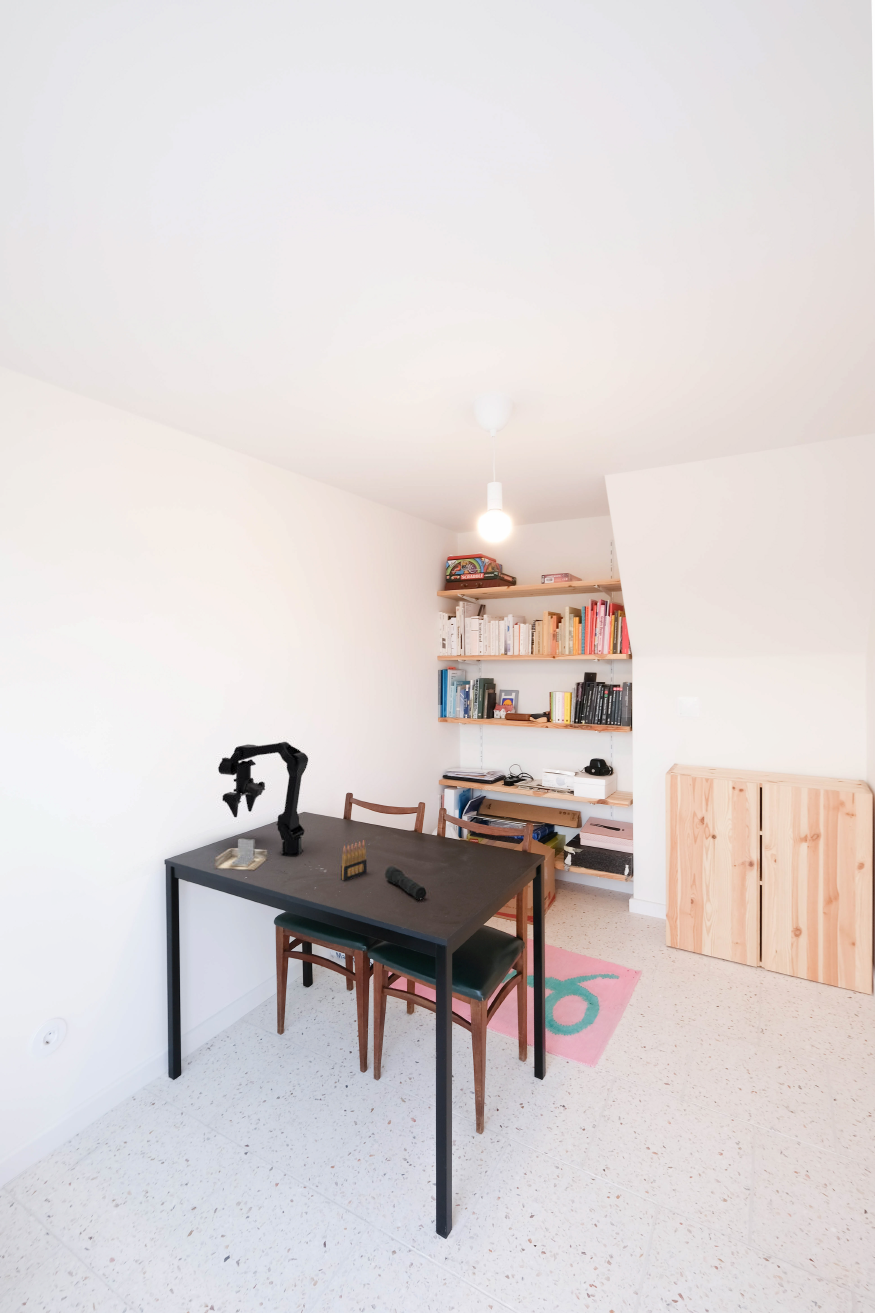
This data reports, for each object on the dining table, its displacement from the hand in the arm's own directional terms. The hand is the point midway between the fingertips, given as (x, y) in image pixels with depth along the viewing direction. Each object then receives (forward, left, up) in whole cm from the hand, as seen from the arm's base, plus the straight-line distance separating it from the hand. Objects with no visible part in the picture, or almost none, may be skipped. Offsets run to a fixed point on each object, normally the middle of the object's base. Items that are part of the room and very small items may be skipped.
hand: (242, 814), depth 239 cm
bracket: (-10, +20, -12) cm, 25 cm away
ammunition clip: (-53, +25, -13) cm, 60 cm away
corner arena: (-8, +19, -13) cm, 24 cm away
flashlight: (-73, +34, -14) cm, 81 cm away
